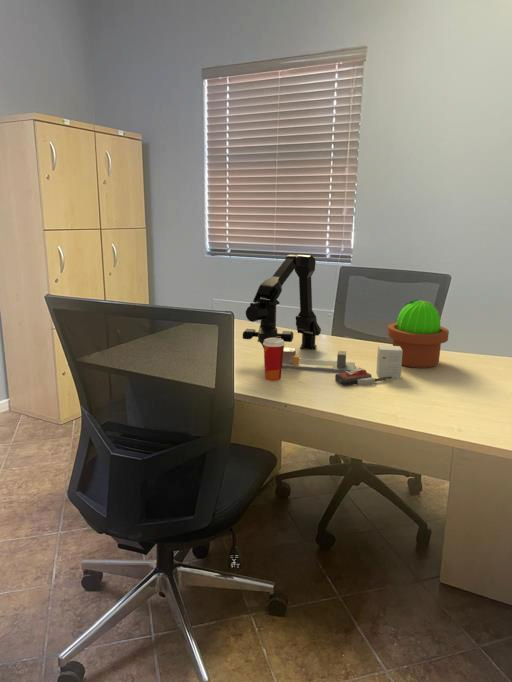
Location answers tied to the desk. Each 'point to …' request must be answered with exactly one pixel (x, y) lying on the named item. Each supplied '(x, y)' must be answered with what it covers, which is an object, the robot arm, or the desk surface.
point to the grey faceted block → (288, 355)
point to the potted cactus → (418, 334)
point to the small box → (389, 361)
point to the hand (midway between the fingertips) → (267, 356)
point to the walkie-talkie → (357, 378)
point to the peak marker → (296, 360)
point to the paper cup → (273, 358)
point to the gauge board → (323, 364)
